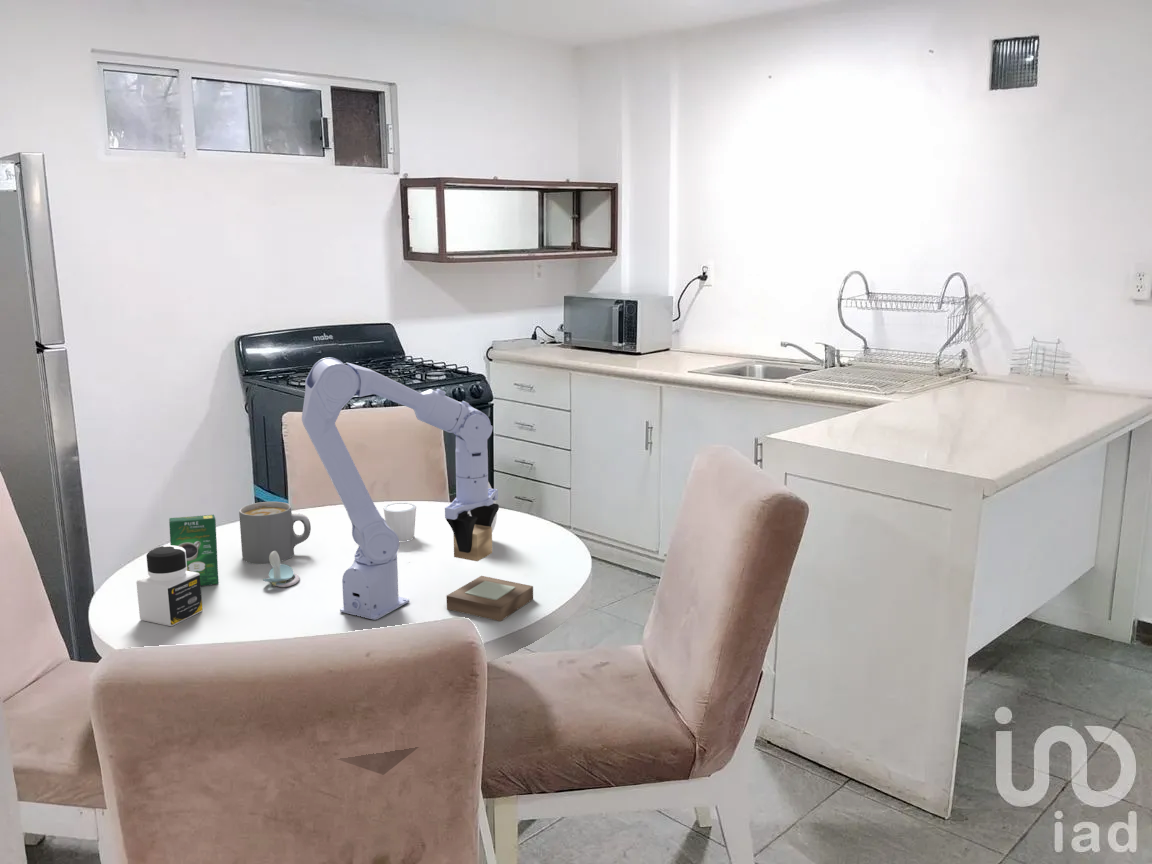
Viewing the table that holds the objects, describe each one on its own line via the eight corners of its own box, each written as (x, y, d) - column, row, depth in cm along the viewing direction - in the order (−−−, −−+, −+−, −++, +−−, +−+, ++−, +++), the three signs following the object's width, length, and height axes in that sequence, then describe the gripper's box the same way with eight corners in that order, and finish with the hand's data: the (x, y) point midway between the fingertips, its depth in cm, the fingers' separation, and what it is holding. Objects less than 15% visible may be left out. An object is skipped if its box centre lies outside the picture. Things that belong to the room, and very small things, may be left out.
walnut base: (500, 621, 153) (500, 606, 153) (446, 609, 158) (446, 594, 158) (533, 599, 163) (533, 585, 162) (481, 588, 168) (481, 574, 167)
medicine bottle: (171, 627, 150) (165, 558, 148) (139, 620, 153) (132, 552, 150) (203, 611, 157) (198, 545, 154) (171, 605, 159) (166, 539, 157)
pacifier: (303, 576, 174) (272, 575, 174) (303, 545, 173) (271, 544, 173) (293, 590, 167) (260, 590, 167) (293, 558, 166) (259, 557, 165)
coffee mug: (236, 564, 180) (232, 516, 178) (250, 548, 189) (246, 501, 187) (305, 563, 181) (302, 514, 179) (315, 546, 190) (313, 500, 188)
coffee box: (219, 579, 172) (214, 512, 169) (220, 584, 169) (215, 516, 166) (173, 585, 169) (167, 517, 166) (173, 590, 166) (167, 521, 163)
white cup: (409, 544, 192) (408, 512, 191) (379, 541, 194) (378, 510, 192) (421, 534, 199) (420, 503, 198) (392, 531, 200) (391, 501, 199)
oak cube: (477, 561, 162) (476, 534, 161) (454, 557, 164) (453, 530, 163) (492, 553, 167) (491, 527, 166) (469, 549, 169) (468, 523, 168)
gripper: (468, 486, 154) (469, 562, 157) (512, 468, 167) (512, 539, 170) (434, 481, 157) (436, 556, 160) (479, 464, 170) (480, 533, 173)
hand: (473, 547), depth 165 cm, fingers closed on oak cube, 5 cm apart
